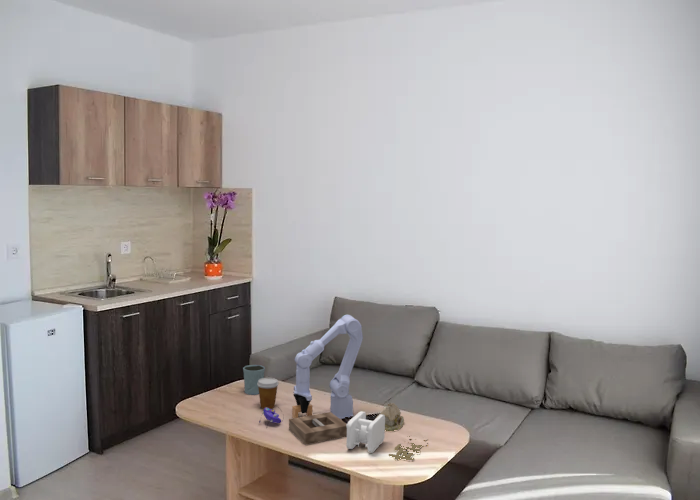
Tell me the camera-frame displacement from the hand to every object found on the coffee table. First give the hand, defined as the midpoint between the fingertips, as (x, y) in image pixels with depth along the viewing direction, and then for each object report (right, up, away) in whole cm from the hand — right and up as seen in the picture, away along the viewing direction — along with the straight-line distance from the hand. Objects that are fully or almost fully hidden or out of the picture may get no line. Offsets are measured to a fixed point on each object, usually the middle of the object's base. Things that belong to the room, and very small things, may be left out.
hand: (302, 411), depth 261 cm
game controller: (-13, -4, -6) cm, 15 cm away
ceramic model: (+37, -5, -4) cm, 37 cm away
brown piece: (+8, -5, -14) cm, 16 cm away
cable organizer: (+26, -7, -25) cm, 37 cm away
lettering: (+44, -8, -25) cm, 51 cm away
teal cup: (-26, +1, +33) cm, 42 cm away
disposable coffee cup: (-17, -2, +14) cm, 22 cm away
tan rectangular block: (0, -2, 0) cm, 2 cm away
